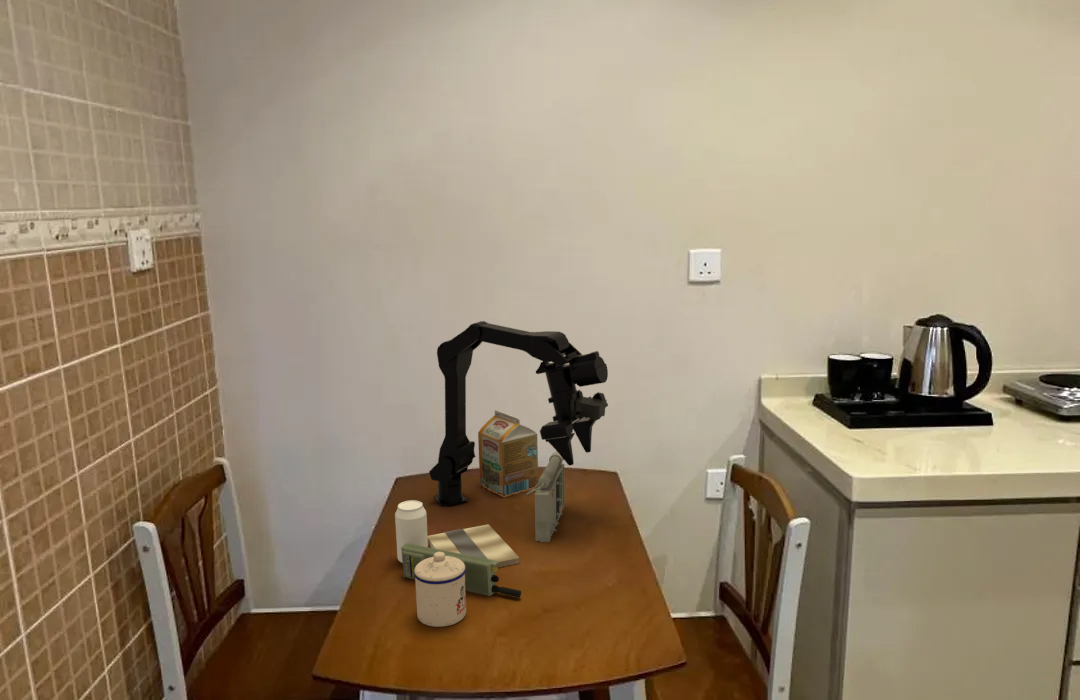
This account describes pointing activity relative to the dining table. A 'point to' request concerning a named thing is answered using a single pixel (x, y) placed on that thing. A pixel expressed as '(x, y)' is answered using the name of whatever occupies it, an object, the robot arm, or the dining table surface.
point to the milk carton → (507, 455)
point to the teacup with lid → (440, 590)
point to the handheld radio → (476, 575)
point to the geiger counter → (549, 498)
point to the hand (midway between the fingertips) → (580, 458)
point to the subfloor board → (475, 544)
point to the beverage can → (410, 525)
